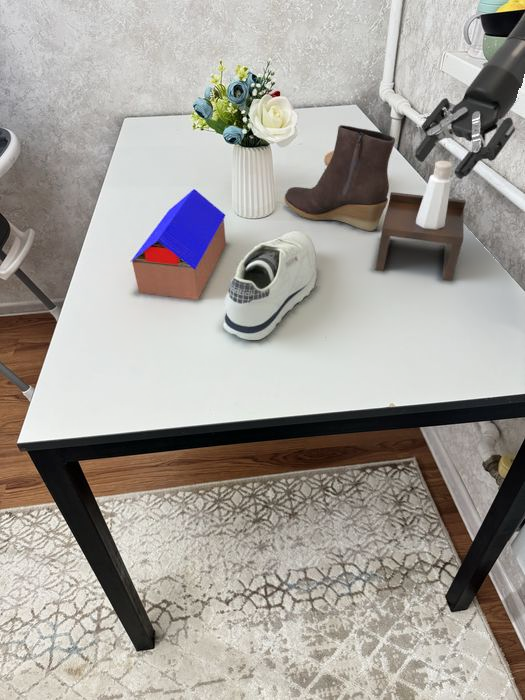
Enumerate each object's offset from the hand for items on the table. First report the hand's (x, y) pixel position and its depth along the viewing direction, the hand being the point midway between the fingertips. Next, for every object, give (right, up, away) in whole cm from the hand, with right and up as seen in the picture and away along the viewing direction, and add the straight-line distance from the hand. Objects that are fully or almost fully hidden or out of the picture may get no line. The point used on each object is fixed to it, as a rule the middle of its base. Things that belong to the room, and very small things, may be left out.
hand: (437, 167), depth 82 cm
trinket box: (-9, +9, +40) cm, 42 cm away
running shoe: (-26, -21, +7) cm, 34 cm away
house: (-44, -14, +15) cm, 49 cm away
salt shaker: (+2, -7, +8) cm, 11 cm away
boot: (-13, -1, +29) cm, 32 cm away
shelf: (+1, -12, +15) cm, 20 cm away
